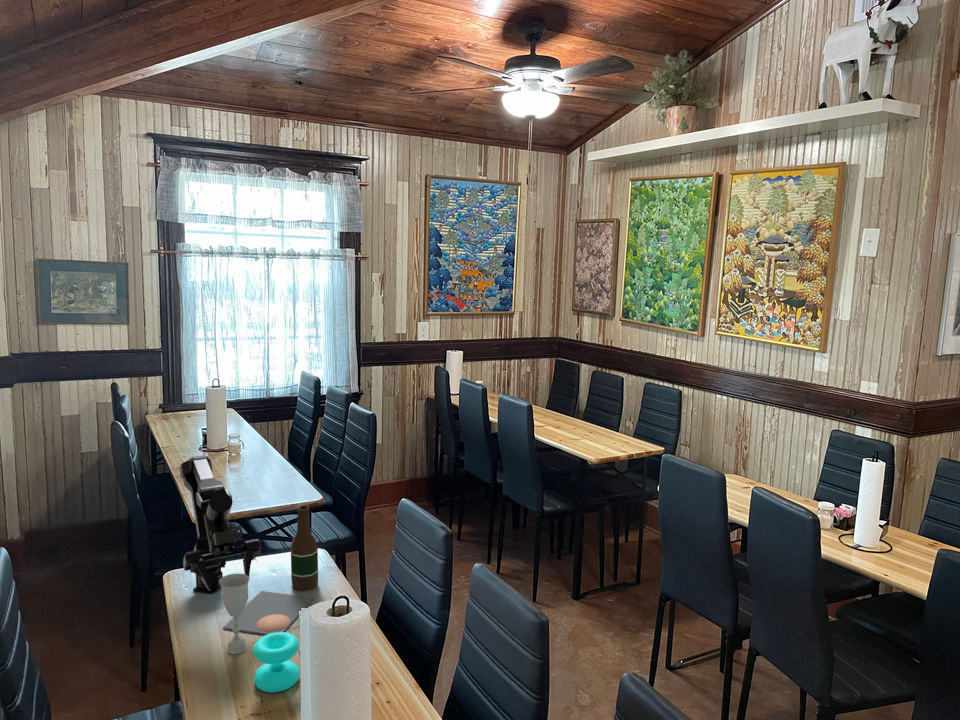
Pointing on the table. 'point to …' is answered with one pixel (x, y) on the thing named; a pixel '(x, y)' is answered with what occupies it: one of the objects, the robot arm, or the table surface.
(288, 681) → the turquoise spool
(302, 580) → the beer bottle
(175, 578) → the table surface
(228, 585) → the chalice
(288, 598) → the mat
